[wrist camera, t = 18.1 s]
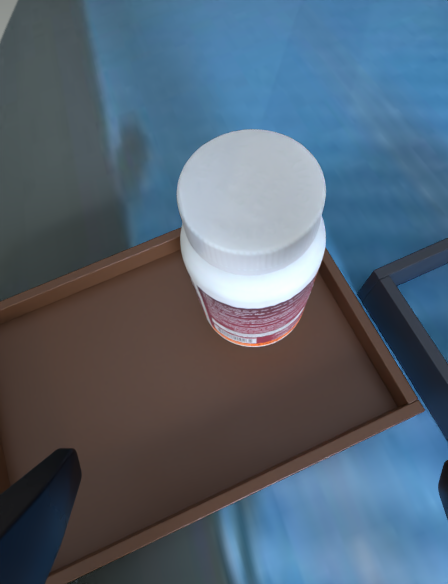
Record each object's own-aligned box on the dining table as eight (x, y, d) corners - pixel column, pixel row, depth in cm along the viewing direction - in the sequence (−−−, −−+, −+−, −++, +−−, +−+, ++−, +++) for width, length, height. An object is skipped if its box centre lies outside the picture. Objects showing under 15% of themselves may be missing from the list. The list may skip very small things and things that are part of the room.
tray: (410, 413, 21) (426, 410, 19) (25, 598, 19) (-1, 616, 17) (284, 202, 26) (287, 183, 24) (-25, 330, 25) (-49, 321, 23)
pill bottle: (323, 316, 23) (383, 210, 12) (234, 369, 22) (217, 303, 12) (268, 239, 25) (279, 91, 14) (185, 284, 24) (133, 164, 14)
